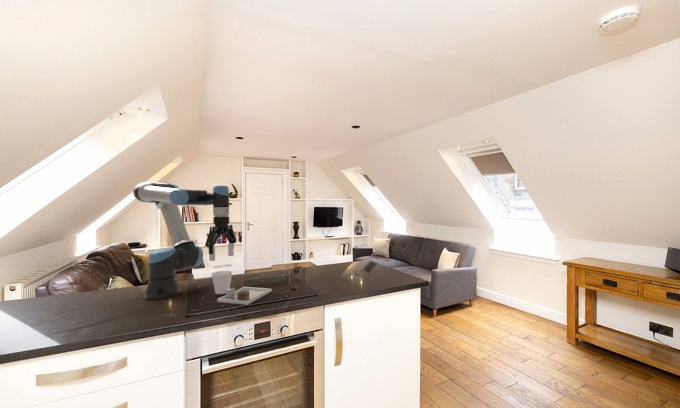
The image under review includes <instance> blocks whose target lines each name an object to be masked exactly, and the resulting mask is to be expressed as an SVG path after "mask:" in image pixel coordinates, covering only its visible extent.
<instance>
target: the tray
mask: <svg viewBox="0 0 680 408" xmlns="http://www.w3.org/2000/svg"><path fill="white" fill-rule="evenodd" d="M272 290H273V289H272V288H265V287H252V286H243V287H241V288H239V289H235V300H232V299H226V294H224V295H223V296H221V297H218V298H217V299H216V302H218V303H224V304H236V305H246V306H248V305H250V304H252V303H253V302H255V301H257V300H259V299H261V298H262V297H264V296H266V295H268V294H270V293H271V292H272ZM240 291H249V300H248V301H243V300H237V293H239V292H240Z"/></svg>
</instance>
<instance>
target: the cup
mask: <svg viewBox="0 0 680 408" xmlns="http://www.w3.org/2000/svg"><path fill="white" fill-rule="evenodd" d="M232 275H233V271H231V270H219V271H214V272H212V273H211V277H212V283H213V288H214V292H215V293H214V294H215V295H226V289H227V288H231V283H232V282H231V281H232Z"/></svg>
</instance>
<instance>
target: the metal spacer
mask: <svg viewBox="0 0 680 408" xmlns="http://www.w3.org/2000/svg"><path fill="white" fill-rule="evenodd" d="M235 291H236V288H235V287H230V288H227V289H226V293H225V295H226V299H232V300H235Z"/></svg>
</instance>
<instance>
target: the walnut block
mask: <svg viewBox="0 0 680 408" xmlns="http://www.w3.org/2000/svg"><path fill="white" fill-rule="evenodd" d="M237 300H243V301H248V300H249V291H240V292H239V293H237Z"/></svg>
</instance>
